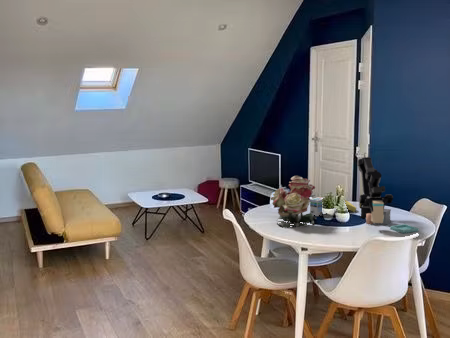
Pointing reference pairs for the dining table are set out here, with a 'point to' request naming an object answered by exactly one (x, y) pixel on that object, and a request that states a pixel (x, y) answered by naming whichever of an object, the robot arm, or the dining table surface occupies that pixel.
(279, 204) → the rose bouquet
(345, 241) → the dining table surface
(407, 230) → the tray
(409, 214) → the dining table surface
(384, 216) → the grey box
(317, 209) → the light bulb box
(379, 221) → the carton
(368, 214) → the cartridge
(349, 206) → the plastic component
